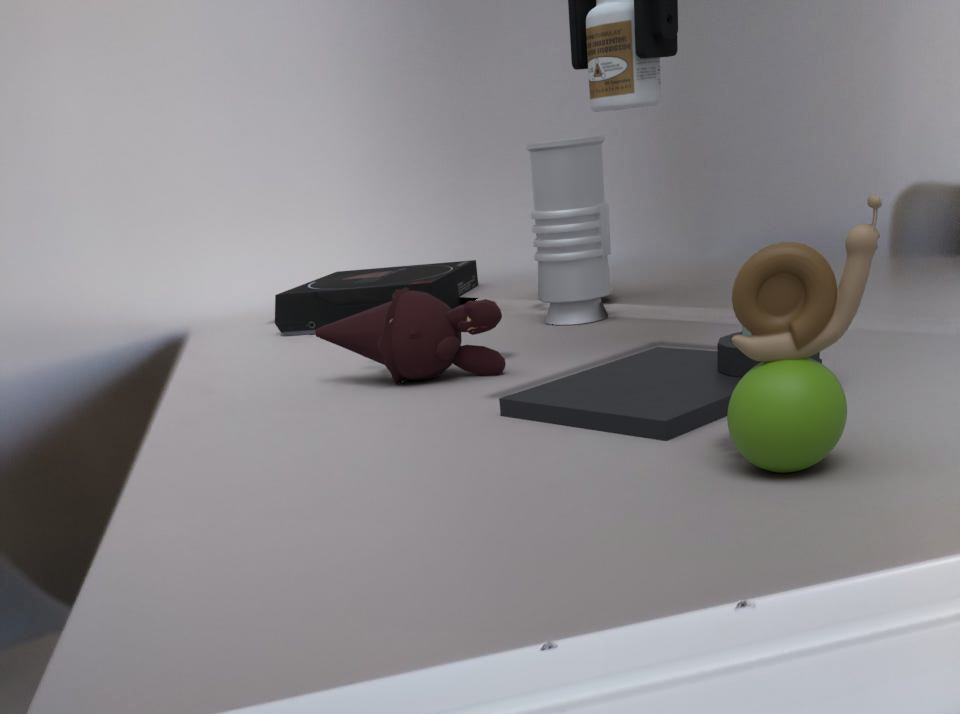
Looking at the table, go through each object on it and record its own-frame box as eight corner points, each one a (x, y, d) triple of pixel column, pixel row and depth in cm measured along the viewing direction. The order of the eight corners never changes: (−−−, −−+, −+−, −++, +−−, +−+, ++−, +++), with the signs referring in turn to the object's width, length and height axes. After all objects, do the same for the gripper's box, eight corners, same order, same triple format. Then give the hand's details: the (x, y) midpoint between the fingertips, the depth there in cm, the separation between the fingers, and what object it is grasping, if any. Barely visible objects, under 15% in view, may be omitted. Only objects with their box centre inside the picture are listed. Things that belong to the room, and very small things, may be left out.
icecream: (285, 309, 74) (485, 316, 70) (325, 267, 79) (514, 272, 75) (305, 396, 78) (494, 408, 74) (342, 352, 84) (520, 360, 79)
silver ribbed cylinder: (594, 325, 91) (583, 137, 85) (525, 326, 95) (510, 146, 88) (626, 311, 96) (619, 133, 90) (560, 312, 100) (549, 140, 93)
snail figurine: (874, 484, 47) (893, 198, 42) (729, 490, 48) (730, 214, 43) (857, 449, 52) (872, 189, 46) (725, 456, 53) (725, 203, 48)
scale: (658, 363, 75) (657, 320, 73) (837, 379, 65) (839, 330, 64) (500, 417, 65) (495, 369, 64) (682, 444, 56) (681, 389, 54)
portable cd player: (337, 308, 119) (331, 272, 117) (479, 298, 114) (475, 260, 113) (277, 336, 105) (269, 295, 103) (436, 325, 100) (431, 282, 98)
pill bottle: (575, 115, 65) (567, -30, 62) (623, 109, 68) (617, -30, 64) (627, 108, 62) (622, -45, 59) (675, 103, 64) (672, -44, 61)
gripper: (785, -375, 52) (777, 41, 60) (546, -259, 64) (566, 76, 72) (693, -407, 48) (698, 46, 56) (454, -276, 59) (487, 82, 67)
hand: (623, 59), depth 64 cm, fingers closed on pill bottle, 4 cm apart
